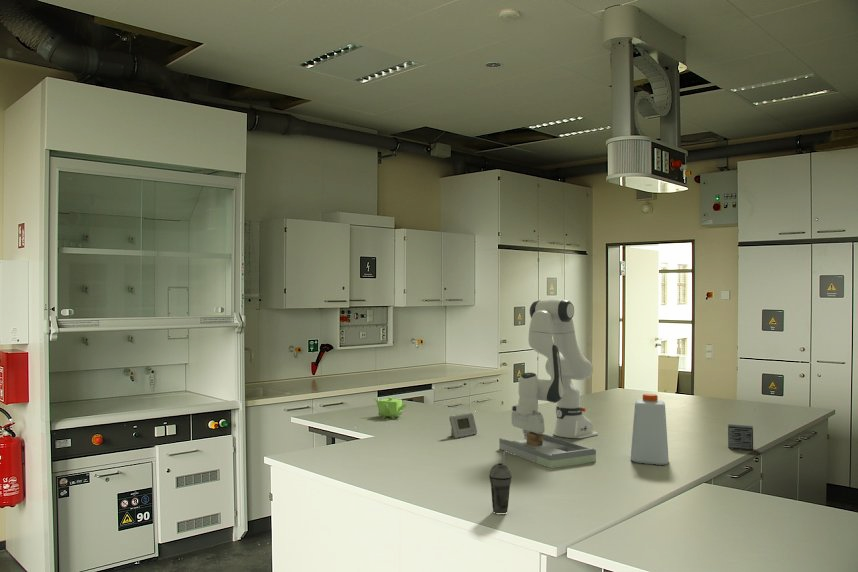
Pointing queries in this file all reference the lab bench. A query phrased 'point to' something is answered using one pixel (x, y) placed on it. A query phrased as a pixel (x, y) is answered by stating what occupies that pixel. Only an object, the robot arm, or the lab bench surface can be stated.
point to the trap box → (550, 451)
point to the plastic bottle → (649, 431)
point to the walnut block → (534, 439)
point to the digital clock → (463, 425)
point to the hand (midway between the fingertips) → (527, 439)
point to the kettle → (390, 407)
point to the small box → (740, 437)
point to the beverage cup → (500, 486)
